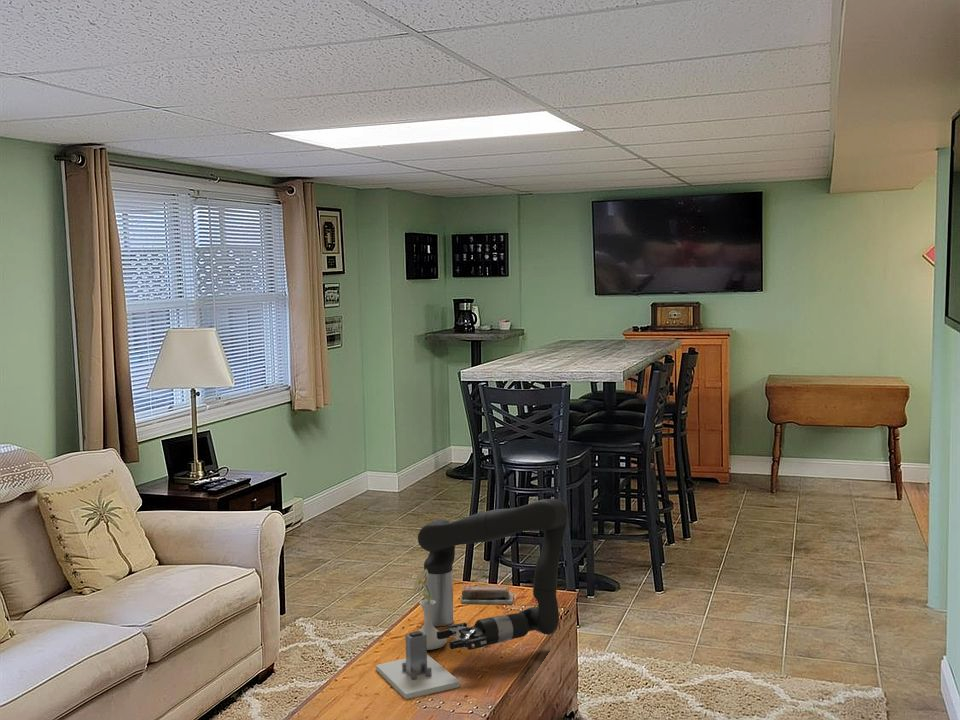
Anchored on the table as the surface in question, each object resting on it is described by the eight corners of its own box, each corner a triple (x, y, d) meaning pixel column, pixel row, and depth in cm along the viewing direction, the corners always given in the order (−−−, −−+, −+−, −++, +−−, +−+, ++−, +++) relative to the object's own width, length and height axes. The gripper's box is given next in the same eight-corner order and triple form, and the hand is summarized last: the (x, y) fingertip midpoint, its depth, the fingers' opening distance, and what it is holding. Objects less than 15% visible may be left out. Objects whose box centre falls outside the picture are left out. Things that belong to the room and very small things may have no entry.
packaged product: (460, 591, 325) (463, 582, 334) (460, 605, 325) (463, 595, 335) (512, 592, 323) (514, 583, 333) (512, 606, 323) (514, 596, 333)
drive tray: (375, 669, 270) (375, 658, 270) (427, 659, 278) (426, 647, 277) (405, 699, 251) (405, 686, 251) (459, 686, 258) (459, 674, 258)
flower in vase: (411, 639, 293) (409, 560, 291) (448, 639, 293) (446, 560, 291) (407, 655, 280) (405, 573, 278) (445, 655, 280) (443, 573, 278)
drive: (406, 672, 264) (405, 632, 263) (422, 669, 267) (421, 629, 266) (410, 676, 262) (410, 636, 261) (427, 673, 264) (426, 633, 263)
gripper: (482, 610, 281) (432, 619, 273) (505, 625, 268) (453, 635, 261) (483, 634, 281) (433, 645, 274) (505, 651, 269) (454, 662, 261)
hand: (443, 640), depth 267 cm, fingers open, 8 cm apart
